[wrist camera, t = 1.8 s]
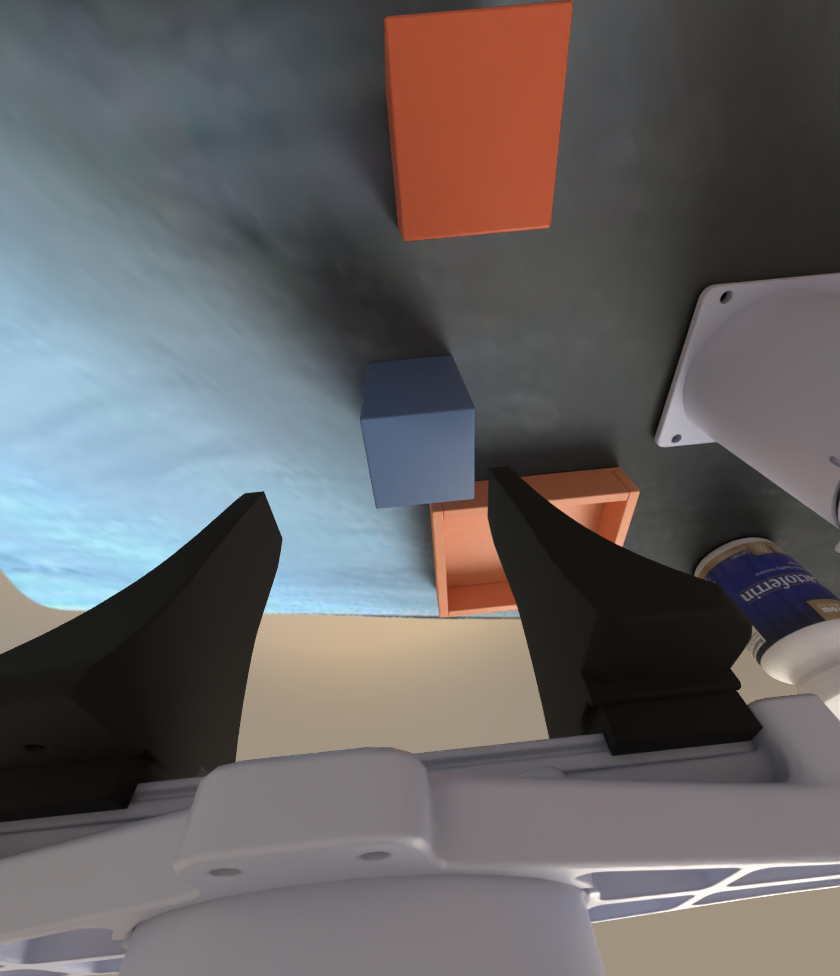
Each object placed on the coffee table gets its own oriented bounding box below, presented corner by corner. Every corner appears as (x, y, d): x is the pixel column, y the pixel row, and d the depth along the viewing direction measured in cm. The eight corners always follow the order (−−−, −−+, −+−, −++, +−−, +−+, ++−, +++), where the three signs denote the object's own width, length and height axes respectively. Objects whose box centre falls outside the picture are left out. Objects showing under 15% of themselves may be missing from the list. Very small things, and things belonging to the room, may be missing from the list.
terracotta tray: (619, 466, 23) (641, 490, 21) (590, 573, 28) (605, 600, 26) (428, 485, 23) (431, 512, 21) (436, 589, 28) (439, 618, 26)
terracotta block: (504, 76, 13) (574, -2, 8) (499, 221, 15) (551, 228, 10) (385, 87, 13) (383, 15, 8) (398, 231, 15) (403, 241, 10)
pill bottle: (778, 522, 26) (950, 662, 18) (769, 574, 30) (912, 712, 21) (689, 550, 27) (816, 694, 19) (690, 597, 31) (798, 737, 22)
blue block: (452, 354, 18) (475, 407, 13) (454, 430, 21) (474, 499, 16) (367, 362, 18) (359, 419, 13) (378, 438, 21) (376, 509, 16)
